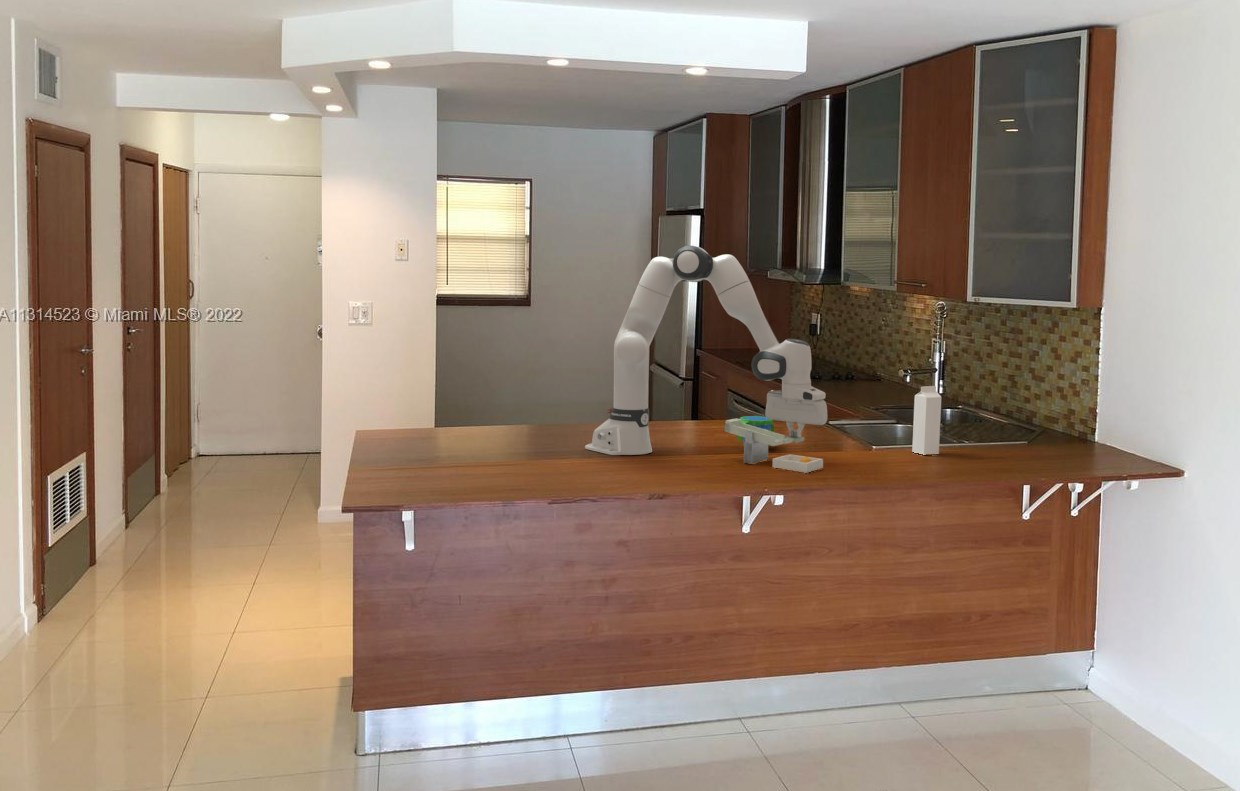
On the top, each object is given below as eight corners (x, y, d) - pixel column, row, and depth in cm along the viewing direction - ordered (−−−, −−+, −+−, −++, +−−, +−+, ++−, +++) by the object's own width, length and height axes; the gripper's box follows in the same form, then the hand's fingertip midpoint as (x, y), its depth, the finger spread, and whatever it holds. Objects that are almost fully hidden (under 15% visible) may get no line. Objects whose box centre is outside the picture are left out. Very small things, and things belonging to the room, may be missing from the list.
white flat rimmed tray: (772, 468, 328) (772, 458, 328) (789, 463, 335) (789, 454, 335) (806, 473, 321) (806, 463, 320) (822, 468, 328) (823, 459, 328)
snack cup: (762, 444, 369) (763, 414, 368) (784, 448, 361) (784, 418, 359) (726, 448, 361) (727, 417, 359) (747, 453, 352) (748, 422, 351)
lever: (724, 431, 340) (725, 420, 339) (751, 425, 352) (753, 414, 351) (777, 447, 328) (779, 436, 327) (803, 440, 340) (805, 430, 339)
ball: (795, 460, 326) (804, 455, 324) (801, 459, 329) (810, 453, 327) (801, 471, 325) (810, 466, 323) (807, 469, 328) (816, 464, 326)
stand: (743, 463, 335) (744, 432, 333) (759, 459, 342) (760, 428, 340) (752, 465, 333) (752, 433, 332) (767, 460, 340) (768, 429, 338)
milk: (938, 455, 352) (942, 387, 349) (923, 456, 350) (927, 387, 347) (926, 451, 358) (930, 384, 355) (911, 453, 355) (915, 385, 352)
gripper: (761, 390, 341) (761, 434, 343) (820, 395, 329) (818, 441, 330) (772, 388, 346) (771, 431, 348) (830, 393, 333) (829, 438, 335)
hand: (795, 436), depth 339 cm, fingers closed
